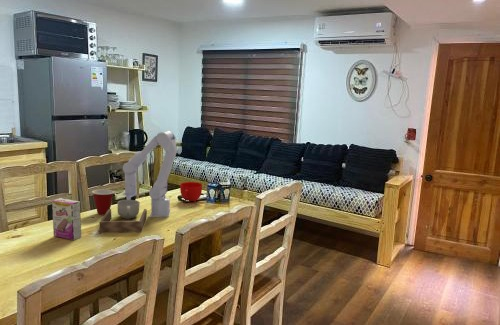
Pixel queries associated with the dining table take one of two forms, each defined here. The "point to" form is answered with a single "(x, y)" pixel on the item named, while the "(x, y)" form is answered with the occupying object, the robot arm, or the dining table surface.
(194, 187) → the ceramic cup
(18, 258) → the dining table surface
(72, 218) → the candy bar box
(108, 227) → the cubby
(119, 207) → the teacup
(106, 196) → the plastic cup
